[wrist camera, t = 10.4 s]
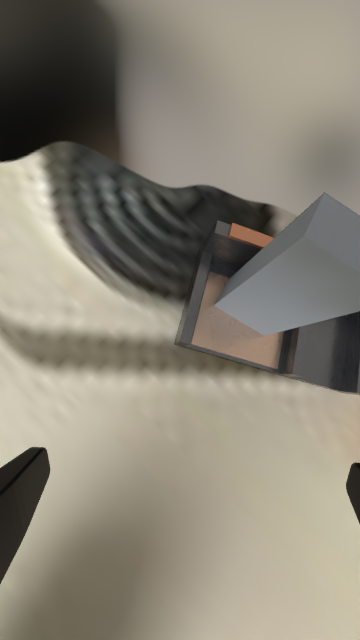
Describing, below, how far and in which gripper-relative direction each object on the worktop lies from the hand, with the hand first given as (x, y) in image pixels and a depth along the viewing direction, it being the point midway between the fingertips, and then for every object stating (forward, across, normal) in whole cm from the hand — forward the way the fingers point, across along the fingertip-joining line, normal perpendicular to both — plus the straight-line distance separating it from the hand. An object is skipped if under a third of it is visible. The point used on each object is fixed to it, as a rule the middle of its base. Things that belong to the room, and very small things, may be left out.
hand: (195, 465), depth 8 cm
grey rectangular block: (+16, -4, -1) cm, 16 cm away
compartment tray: (+16, -7, +1) cm, 18 cm away
